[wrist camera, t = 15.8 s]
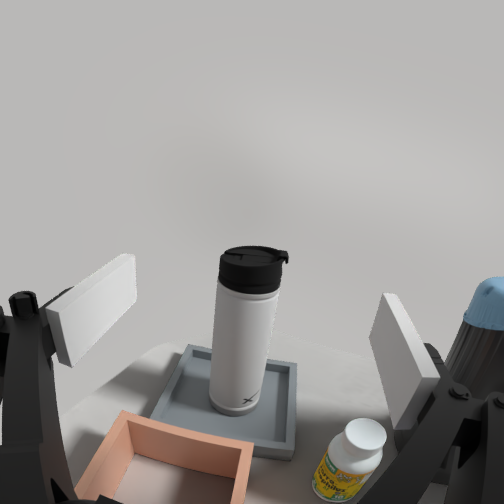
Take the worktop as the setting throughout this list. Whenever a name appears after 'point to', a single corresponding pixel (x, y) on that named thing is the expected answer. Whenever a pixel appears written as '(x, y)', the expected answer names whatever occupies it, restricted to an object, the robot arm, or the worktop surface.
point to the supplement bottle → (349, 460)
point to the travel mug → (243, 326)
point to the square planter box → (163, 455)
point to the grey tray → (233, 427)
